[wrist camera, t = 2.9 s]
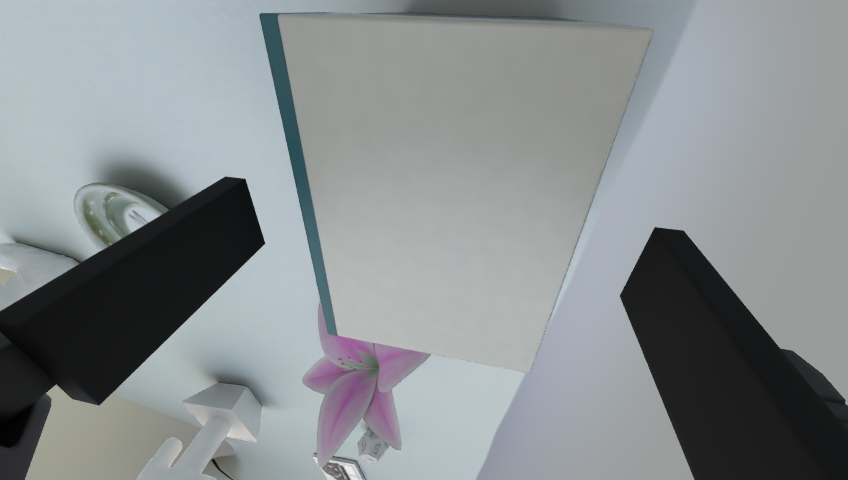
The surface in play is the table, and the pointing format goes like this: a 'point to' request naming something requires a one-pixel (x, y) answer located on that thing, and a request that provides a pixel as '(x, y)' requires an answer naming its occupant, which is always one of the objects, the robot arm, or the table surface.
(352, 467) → the car cutout
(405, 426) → the table surface
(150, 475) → the figurine
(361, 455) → the game die
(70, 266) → the sitting furry creature
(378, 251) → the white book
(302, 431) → the table surface
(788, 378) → the robot arm
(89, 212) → the saucer
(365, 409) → the lily
